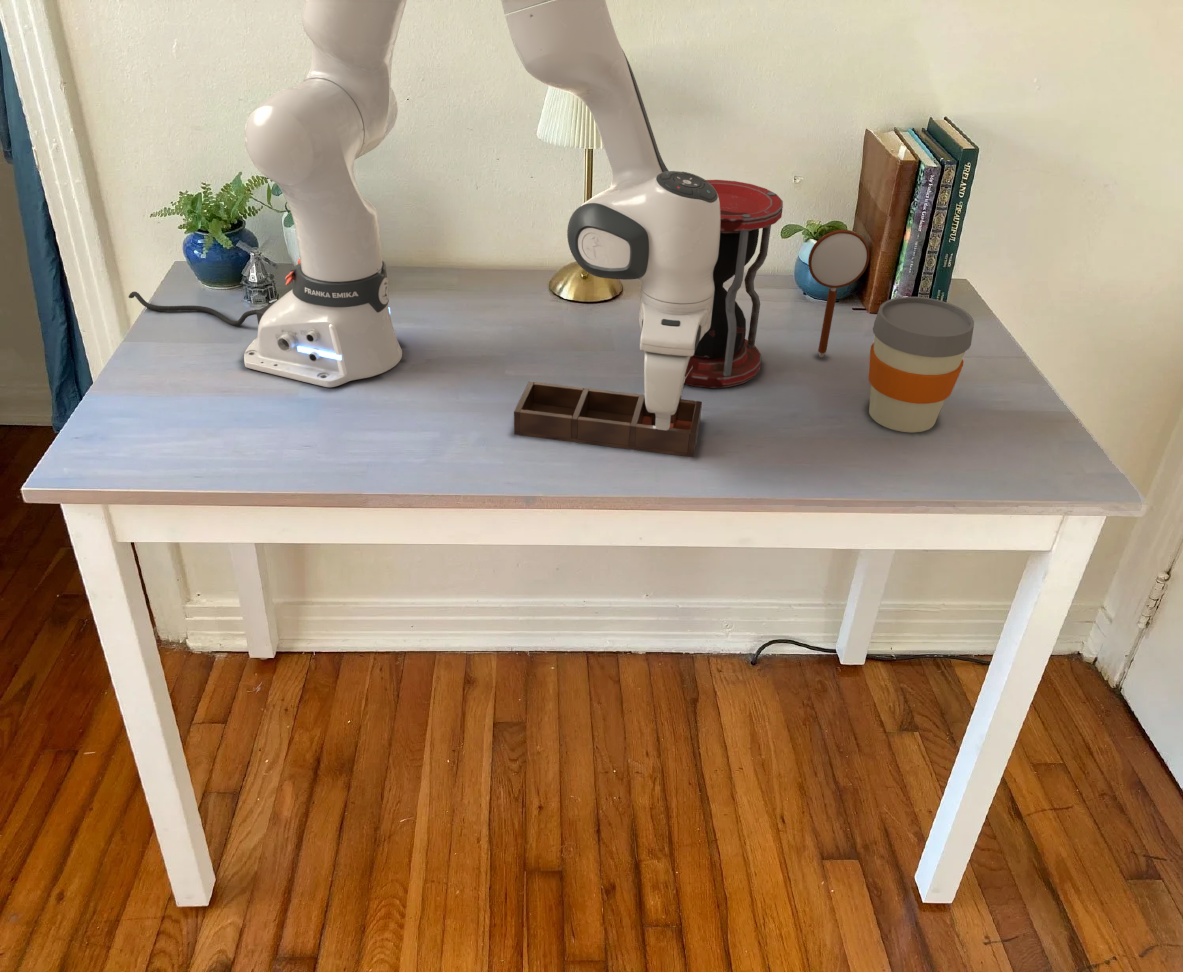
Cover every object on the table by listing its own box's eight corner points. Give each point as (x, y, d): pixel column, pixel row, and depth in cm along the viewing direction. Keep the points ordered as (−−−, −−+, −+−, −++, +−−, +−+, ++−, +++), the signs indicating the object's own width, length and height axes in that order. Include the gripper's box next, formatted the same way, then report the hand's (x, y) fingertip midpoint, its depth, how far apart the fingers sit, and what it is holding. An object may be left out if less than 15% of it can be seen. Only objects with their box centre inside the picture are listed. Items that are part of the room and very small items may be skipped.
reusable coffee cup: (965, 436, 134) (994, 335, 125) (877, 442, 132) (900, 339, 123) (924, 390, 144) (949, 293, 135) (842, 395, 142) (861, 297, 134)
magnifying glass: (793, 359, 151) (814, 231, 139) (791, 353, 152) (812, 226, 141) (850, 360, 151) (876, 232, 140) (848, 355, 152) (873, 228, 141)
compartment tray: (514, 434, 131) (513, 411, 129) (529, 403, 138) (529, 380, 136) (693, 457, 128) (696, 434, 126) (699, 423, 135) (702, 401, 133)
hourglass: (636, 344, 153) (646, 182, 139) (732, 333, 157) (751, 174, 143) (676, 395, 141) (691, 223, 126) (778, 381, 145) (805, 212, 131)
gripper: (660, 275, 130) (653, 369, 138) (638, 344, 114) (631, 446, 122) (709, 280, 129) (699, 374, 137) (693, 350, 113) (682, 453, 121)
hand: (667, 409), depth 129 cm, fingers open, 8 cm apart
